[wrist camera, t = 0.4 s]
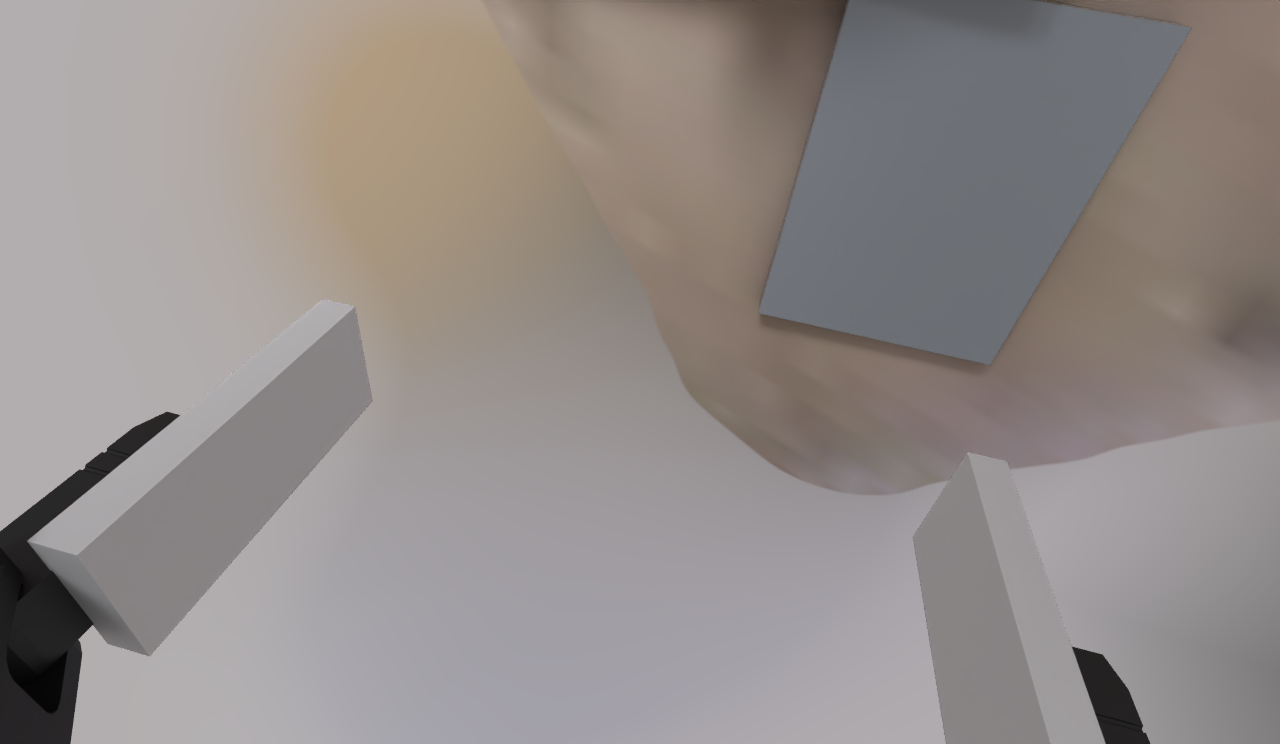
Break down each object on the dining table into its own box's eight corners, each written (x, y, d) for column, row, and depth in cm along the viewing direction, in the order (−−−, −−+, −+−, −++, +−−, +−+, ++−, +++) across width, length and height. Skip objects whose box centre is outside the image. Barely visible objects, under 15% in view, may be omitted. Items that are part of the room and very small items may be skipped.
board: (856, -32, 29) (858, -30, 28) (1178, 23, 27) (1191, 27, 26) (759, 303, 40) (758, 313, 39) (985, 353, 38) (990, 365, 37)
